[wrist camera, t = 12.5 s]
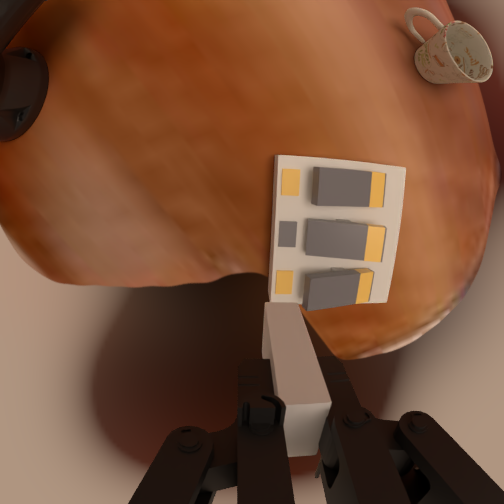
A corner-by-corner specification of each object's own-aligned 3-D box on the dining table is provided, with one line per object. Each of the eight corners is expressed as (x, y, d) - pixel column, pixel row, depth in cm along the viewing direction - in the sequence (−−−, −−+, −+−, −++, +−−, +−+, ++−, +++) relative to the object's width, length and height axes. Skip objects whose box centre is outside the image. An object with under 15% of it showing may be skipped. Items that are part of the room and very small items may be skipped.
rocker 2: (305, 251, 37) (305, 255, 35) (308, 218, 35) (308, 220, 34) (379, 258, 35) (382, 262, 34) (384, 225, 34) (387, 228, 33)
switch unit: (268, 290, 43) (271, 307, 38) (274, 155, 37) (279, 154, 33) (375, 290, 43) (389, 305, 39) (392, 166, 38) (409, 168, 33)
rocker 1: (311, 203, 33) (317, 206, 31) (313, 166, 32) (319, 167, 30) (376, 205, 35) (383, 207, 34) (379, 172, 34) (386, 173, 33)
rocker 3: (301, 306, 36) (307, 311, 35) (305, 274, 35) (310, 278, 34) (363, 296, 39) (369, 301, 38) (368, 267, 38) (374, 271, 36)
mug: (435, 102, 35) (477, 94, 26) (375, 36, 32) (408, 11, 23) (459, 72, 33) (500, 61, 24) (404, 10, 31) (438, -15, 21)
